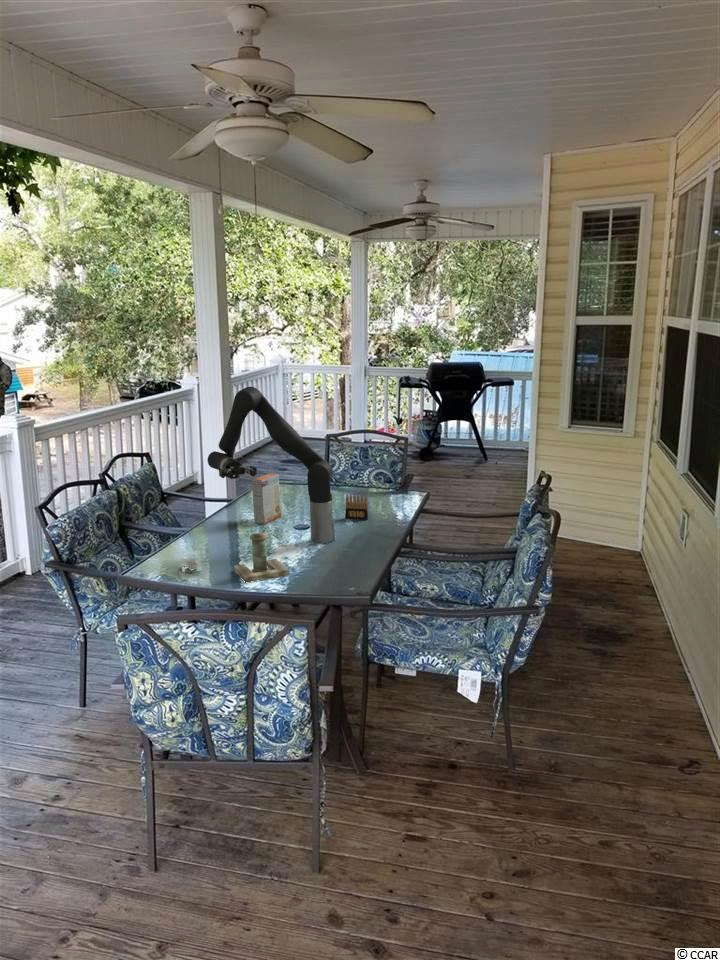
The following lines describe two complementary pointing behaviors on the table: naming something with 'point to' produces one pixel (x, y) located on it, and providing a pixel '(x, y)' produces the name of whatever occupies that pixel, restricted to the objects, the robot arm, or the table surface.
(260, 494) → the cracker box
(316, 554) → the table surface
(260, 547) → the bobbin
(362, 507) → the ammunition clip
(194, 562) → the white curved piece
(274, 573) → the tan u-shaped bracket
